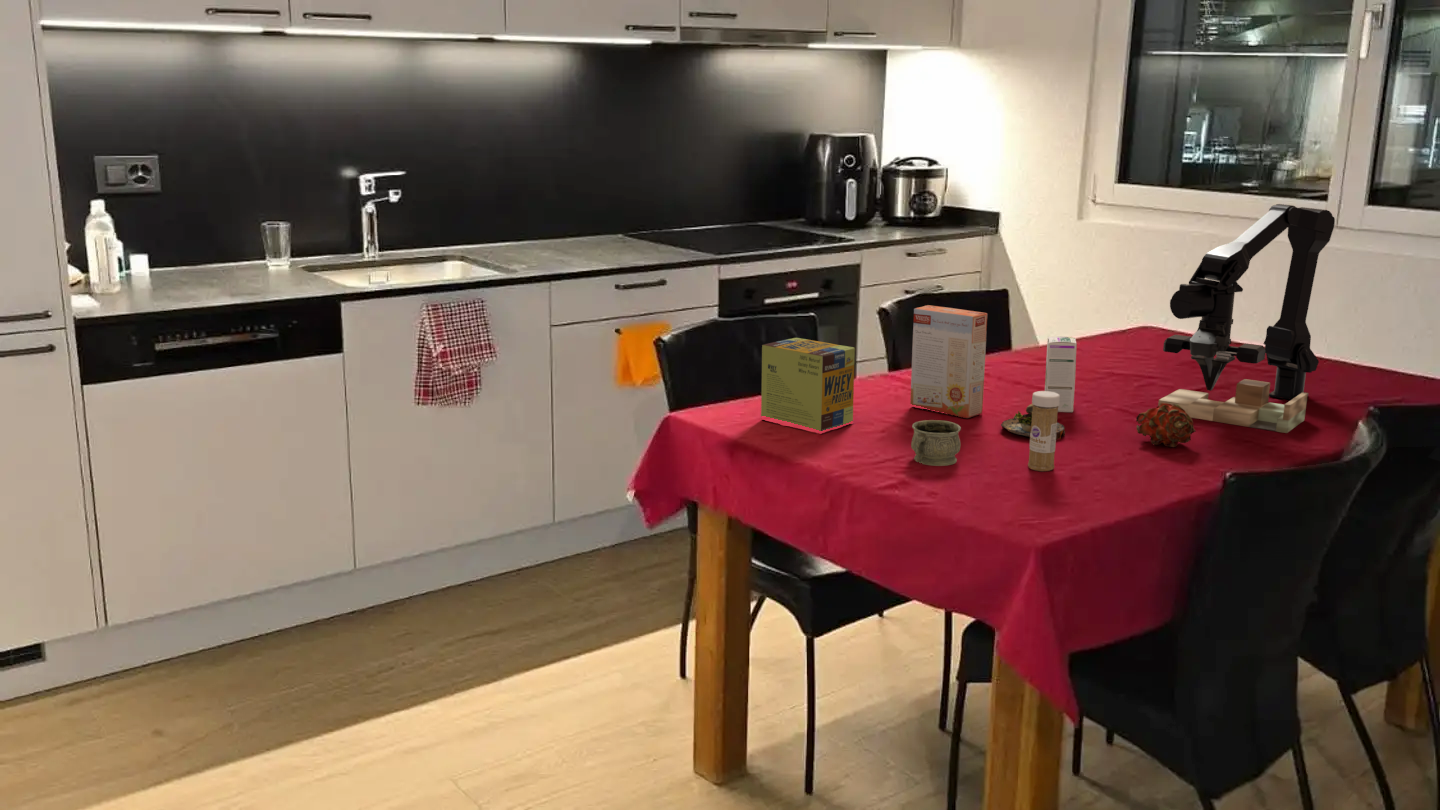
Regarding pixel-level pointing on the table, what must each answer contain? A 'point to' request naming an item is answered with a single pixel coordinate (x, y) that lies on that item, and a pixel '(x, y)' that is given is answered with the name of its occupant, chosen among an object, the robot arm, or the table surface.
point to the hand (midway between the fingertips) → (1209, 390)
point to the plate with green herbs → (1026, 424)
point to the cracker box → (948, 360)
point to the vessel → (936, 442)
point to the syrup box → (1061, 370)
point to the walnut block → (1252, 392)
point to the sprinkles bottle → (1043, 430)
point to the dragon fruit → (1166, 425)
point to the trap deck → (1241, 411)
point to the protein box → (808, 383)
